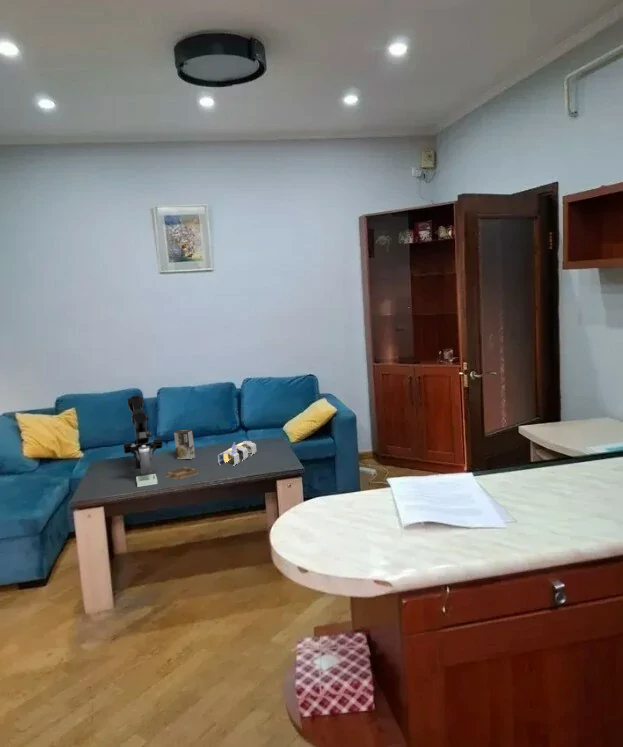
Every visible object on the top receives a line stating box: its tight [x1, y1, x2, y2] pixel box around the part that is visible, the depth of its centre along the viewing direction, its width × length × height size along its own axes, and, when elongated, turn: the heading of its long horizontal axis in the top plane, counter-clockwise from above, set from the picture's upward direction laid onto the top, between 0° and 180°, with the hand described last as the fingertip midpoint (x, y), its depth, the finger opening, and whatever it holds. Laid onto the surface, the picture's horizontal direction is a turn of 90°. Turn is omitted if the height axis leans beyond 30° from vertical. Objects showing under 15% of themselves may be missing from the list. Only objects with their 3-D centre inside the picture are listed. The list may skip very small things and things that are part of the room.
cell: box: [139, 445, 152, 475], centre depth 297 cm, size 5×5×14 cm
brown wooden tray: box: [164, 466, 200, 481], centre depth 308 cm, size 13×13×2 cm
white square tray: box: [135, 473, 158, 488], centre depth 298 cm, size 10×10×3 cm
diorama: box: [217, 440, 257, 467], centre depth 330 cm, size 25×10×13 cm, turn 158°
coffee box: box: [173, 429, 196, 460], centre depth 340 cm, size 9×6×16 cm
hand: (145, 460), depth 295 cm, fingers closed on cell, 5 cm apart
